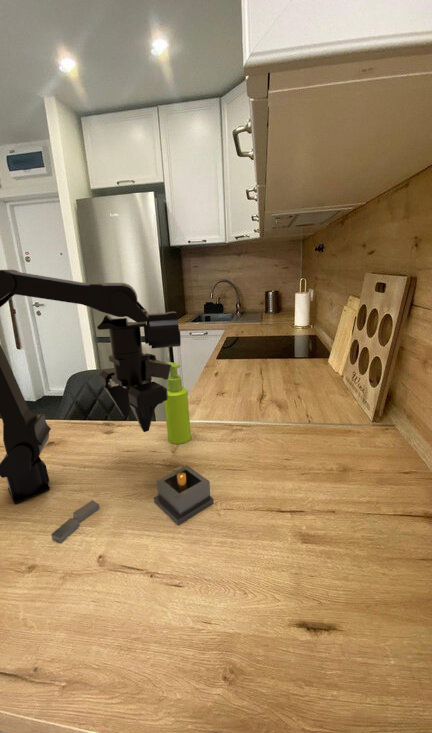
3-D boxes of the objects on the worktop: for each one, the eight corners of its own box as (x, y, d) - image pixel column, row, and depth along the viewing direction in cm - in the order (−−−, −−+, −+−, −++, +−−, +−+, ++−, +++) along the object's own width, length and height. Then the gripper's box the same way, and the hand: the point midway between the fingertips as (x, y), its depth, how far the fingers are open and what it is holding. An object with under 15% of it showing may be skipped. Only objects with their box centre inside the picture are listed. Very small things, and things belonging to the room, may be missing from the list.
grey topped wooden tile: (80, 523, 58) (79, 517, 58) (74, 519, 59) (72, 512, 59) (99, 510, 61) (98, 504, 61) (93, 506, 62) (92, 499, 62)
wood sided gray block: (61, 544, 54) (59, 538, 53) (52, 541, 55) (51, 534, 54) (80, 527, 57) (79, 520, 57) (72, 524, 58) (70, 517, 58)
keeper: (178, 525, 56) (175, 496, 54) (154, 501, 62) (151, 474, 60) (213, 502, 61) (212, 475, 59) (188, 483, 67) (186, 457, 65)
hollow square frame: (179, 516, 57) (177, 499, 56) (158, 496, 62) (156, 480, 61) (210, 497, 61) (209, 481, 60) (188, 480, 66) (186, 465, 65)
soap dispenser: (176, 429, 89) (170, 358, 83) (195, 436, 85) (190, 363, 79) (160, 438, 85) (152, 364, 79) (179, 446, 81) (172, 369, 75)
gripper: (189, 351, 61) (193, 426, 66) (142, 336, 75) (148, 400, 80) (134, 363, 54) (143, 446, 59) (94, 345, 68) (103, 413, 73)
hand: (135, 423), depth 68 cm, fingers open, 9 cm apart
